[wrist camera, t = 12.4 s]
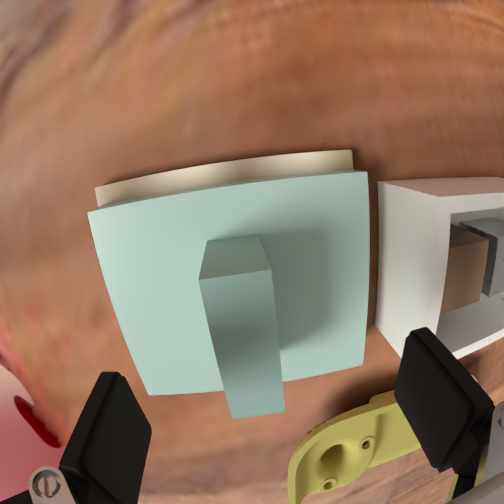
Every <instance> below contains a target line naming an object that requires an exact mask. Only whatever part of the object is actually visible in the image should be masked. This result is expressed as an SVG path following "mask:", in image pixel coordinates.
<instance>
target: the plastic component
mask: <svg viewBox="0 0 504 504" xmlns="http://www.w3.org/2000/svg"><path fill="white" fill-rule="evenodd" d="M471 376H472V377H473V378H474V379H475V380H476V378H475V377H474V376H473V375H471ZM476 382H477V380H476ZM365 441H366V445H364V446H362V444H363V443H364V442H365ZM420 447H421V445H420V443H419V441H418V439H417V437H416V436H415V434H414V432H413V430H412V428H411V426H410V425H409V423H408V421H407V419H406V417H405V416H404V414H403V412H402V410H401V408H400V407H399V405H398V403H397V401H396V399H395V396H394V390H392V391H388V392H385V393H382V394H378V395H375V396H373V397H372V398H371V399H370V401H369V404H366V405H363V406H360V407H357V408H354V409H352V410H349V411H347V412H344V413H342V414H340V415H338V416H336V417H334V418H332V419H330V420H328V421H326V422H324V423H322V424H321V425H319V426H318V427H315V428H313V429H312V431H311V432H310V433H309V434H308V435H306V436H305V437H304V439H303V440H302V441H301V443H300V444H299V445H298V447H297V448H296V450H295V451H294V453H293V455H292V457H291V459H290V463H289V469H288V504H300V503H301V501H302V500H303V498H304V497H305V496H306V495H310V494H314V493H318V492H329V491H331V490H333V489H334V488H337V487H341V486H344V485H346V484H349V483H351V482H352V481H354V480H355V479H357V478H358V477H359V476H361V475H362V474H363V473H364V472H365V471H366V469H367V468H370V467H373V466H376V465H379V464H381V463H384V462H387V461H389V460H392V459H395V458H397V457H400V456H402V455H404V454H407V453H409V452H411V451H414V450H416V449H418V448H420Z"/></svg>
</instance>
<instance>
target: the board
mask: <svg viewBox="0 0 504 504" xmlns="http://www.w3.org/2000/svg"><path fill="white" fill-rule="evenodd" d="M339 170H353V160H352V150H332V151H317V152H304V153H293V154H283V155H273V156H264V157H256V158H248V159H240V160H233V161H226V162H219V163H213V164H206V165H200V166H194V167H188V168H183V169H177V170H172V171H166V172H161V173H156V174H151V175H147V176H142V177H137V178H133V179H128V180H124V181H119V182H115V183H111V184H107V185H103V186H99V187H96V188H95V192H96V197H97V202H98V207H100V206H103V205H108V204H112V203H117V202H122V201H126V200H131V199H136V198H141V197H146V196H151V195H157V194H162V193H168V192H173V191H179V190H185V189H191V188H197V187H203V186H209V185H216V184H223V183H230V182H237V181H244V180H252V179H260V178H268V177H276V176H285V175H295V174H305V173H315V172H327V171H339Z"/></svg>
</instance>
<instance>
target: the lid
mask: <svg viewBox="0 0 504 504" xmlns="http://www.w3.org/2000/svg"><path fill="white" fill-rule="evenodd" d="M87 213H88V218H89V222H90V226H91V231H92V235H93V239H94V243H95V247H96V251H97V255H98V258H99V262H100V265H101V269H102V272H103V276H104V279H105V283H106V286H107V289H108V292H109V295H110V298H111V301H112V304H113V307H114V310H115V313H116V316H117V319H118V322H119V325H120V327H121V330H122V333H123V335H124V338H125V341H126V343H127V346H128V348H129V351H130V353H131V356H132V358H133V361H134V363H135V365H136V368H137V370H138V372H139V375H140V377H141V379H142V381H143V384H144V386H145V388H146V390H147V392H148V395H169V394H187V393H200V392H211V391H221V390H224V391H225V395H226V398H227V402H228V406H229V409H230V413H231V416H232V419H237V418H245V417H253V416H260V415H267V414H273V413H280V412H285V403H284V392H283V382H286V381H291V380H297V379H302V378H307V377H312V376H317V375H321V374H326V373H330V372H335V371H339V370H343V369H347V368H351V367H355V366H359V365H363V357H364V347H365V337H366V325H367V311H368V293H369V263H370V223H369V193H368V175H367V172H365V171H359V170H339V171H327V172H315V173H305V174H295V175H285V176H276V177H268V178H260V179H252V180H244V181H237V182H230V183H223V184H216V185H209V186H203V187H197V188H191V189H185V190H179V191H173V192H168V193H162V194H157V195H151V196H146V197H141V198H136V199H131V200H126V201H122V202H117V203H112V204H108V205H103V206H100V207H98V208H96V209H93V210H91V211H89V212H87Z"/></svg>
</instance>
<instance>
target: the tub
mask: <svg viewBox="0 0 504 504" xmlns="http://www.w3.org/2000/svg"><path fill="white" fill-rule="evenodd" d="M377 184H378V210H379V260H378V286H377V303H376V316H375V326H376V327H377V328H378V329H379V331H380V332H381V333H382V334H383V336H384V337H385V338H386V339H387V341H388V342H389V343H390V345H391V346H392V347H393V348H394V350H395V351H396V352H397V354H398V355H399V356H400V357H401V359H402V354H403V349H404V344H405V339H406V337H407V336H409V333H410V332H411V331H412V330H416V329H419V328H422V327H428V328H429V329H430V330H431V331H432V332H433V333H434V334H435V336H436V337H437V338H438V339H439V340H440V341H441V342H442V343H443V344H444V345H445V346H446V347H447V349H448V350H449V351H450V352H451V353H452V354H453V355H454V356H455V357H456V359H459V358H461V357H463V356H466V355H468V354H470V353H472V352H474V351H476V350H478V349H480V348H482V347H484V346H486V345H488V344H490V343H492V342H494V341H496V340H498V339H500V338H502V337H503V336H504V291H503V292H501V293H498V294H496V295H494V296H491V297H487V296H486V295H484V294H483V293H481V296H480V300H479V301H478V302H475V303H473V304H470V305H467V306H465V307H462V308H459V309H456V310H453V311H450V312H447V313H444V314H441V315H440V309H441V304H442V298H443V291H444V285H445V277H446V269H447V260H448V250H449V238H450V223H451V224H453V225H456V226H458V227H459V222H462V221H469V220H475V219H482V218H489V217H493V218H496V219H499V220H501V221H504V178H500V177H453V178H427V179H408V180H392V181H377Z"/></svg>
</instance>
